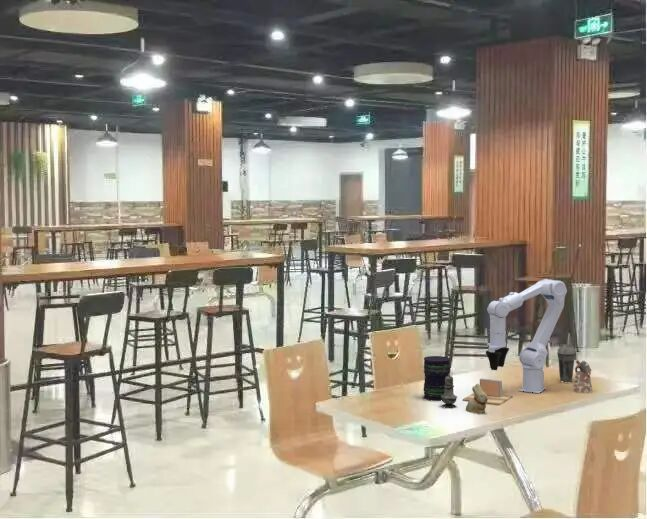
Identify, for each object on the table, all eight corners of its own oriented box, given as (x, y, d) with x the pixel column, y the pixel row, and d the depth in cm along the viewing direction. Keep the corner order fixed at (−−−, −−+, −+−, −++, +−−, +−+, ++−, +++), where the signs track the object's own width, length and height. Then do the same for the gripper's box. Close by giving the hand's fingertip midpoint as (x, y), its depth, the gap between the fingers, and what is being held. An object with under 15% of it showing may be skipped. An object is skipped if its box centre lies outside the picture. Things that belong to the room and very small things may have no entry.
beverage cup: (553, 380, 339) (553, 332, 337) (568, 379, 341) (569, 331, 339) (563, 384, 332) (564, 334, 330) (578, 383, 334) (579, 334, 333)
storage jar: (449, 401, 302) (449, 361, 302) (422, 400, 304) (422, 360, 304) (450, 395, 312) (451, 356, 311) (424, 394, 314) (424, 355, 313)
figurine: (588, 394, 314) (588, 363, 313) (570, 391, 318) (570, 360, 318) (594, 390, 320) (595, 360, 319) (576, 388, 324) (577, 358, 323)
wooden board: (477, 392, 316) (477, 391, 316) (512, 397, 309) (512, 395, 309) (462, 400, 304) (462, 399, 304) (499, 405, 296) (499, 403, 296)
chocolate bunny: (474, 414, 283) (474, 386, 283) (464, 409, 291) (464, 381, 290) (488, 413, 285) (489, 385, 284) (478, 408, 292) (478, 380, 292)
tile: (481, 394, 312) (481, 378, 311) (501, 396, 308) (501, 380, 307) (479, 395, 310) (479, 379, 310) (500, 397, 306) (500, 381, 306)
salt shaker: (444, 408, 292) (444, 375, 291) (438, 405, 297) (438, 372, 296) (460, 407, 293) (460, 374, 292) (453, 404, 299) (453, 371, 298)
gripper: (493, 329, 322) (493, 364, 322) (481, 334, 309) (480, 370, 310) (511, 330, 318) (511, 365, 319) (499, 336, 305) (499, 372, 306)
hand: (497, 368), depth 314 cm, fingers open, 7 cm apart
